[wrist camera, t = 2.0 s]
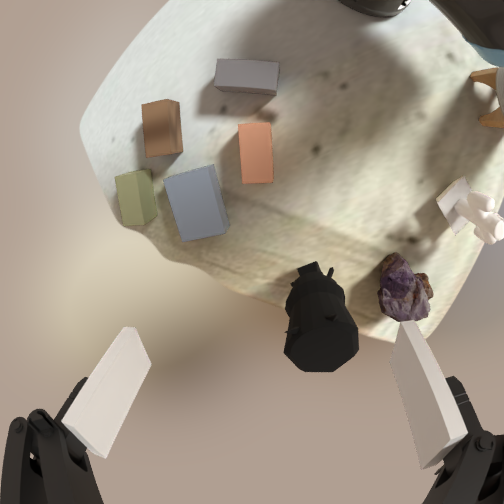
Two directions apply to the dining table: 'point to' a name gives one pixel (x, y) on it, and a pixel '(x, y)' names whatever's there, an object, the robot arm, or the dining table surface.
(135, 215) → the olive block
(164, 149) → the walnut block
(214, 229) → the slate slab
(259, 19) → the dining table surface
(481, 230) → the figurine
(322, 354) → the toy
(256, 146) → the terracotta block
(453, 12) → the robot arm
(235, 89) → the charcoal block
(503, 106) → the planter
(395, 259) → the rock
